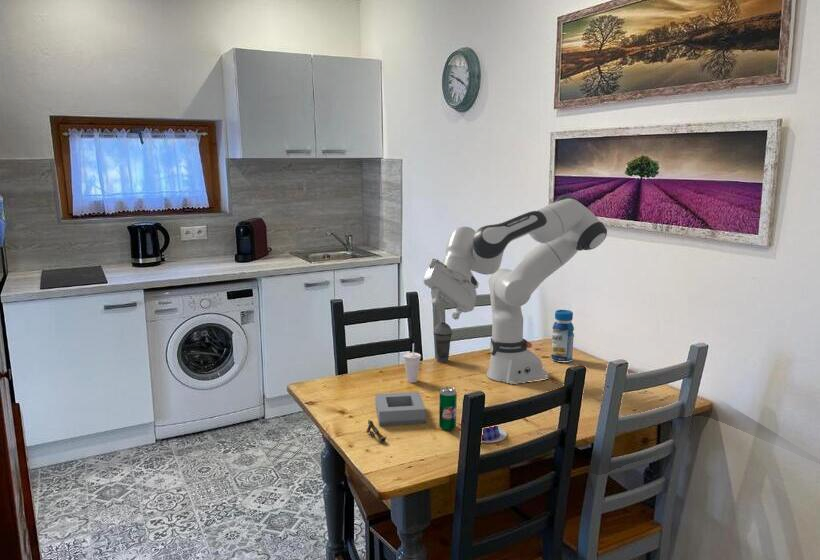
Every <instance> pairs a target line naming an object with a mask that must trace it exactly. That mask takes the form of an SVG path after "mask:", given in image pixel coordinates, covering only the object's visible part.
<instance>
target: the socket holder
mask: <svg viewBox="0 0 820 560" xmlns="http://www.w3.org/2000/svg"><path fill="white" fill-rule="evenodd" d="M374 400H375V411H376V414H377V415H376V417H377V420H378V421H377V422H378V425H379V426H380V427H382V426H400V425H402V426H403V425H417V424H426V421H427V420H426V419H427V417H426V415H427V413H426V412H427V409H426V406H425V403H424V402H423V399H422V396H421V395H420V391H410V392H409V391H408V392H407V391H406V392H391V393H390V392H389V393H375V399H374Z"/></svg>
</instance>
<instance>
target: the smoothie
mask: <svg viewBox="0 0 820 560" xmlns="http://www.w3.org/2000/svg"><path fill="white" fill-rule="evenodd" d="M402 357H403V361H404V367H405V375H406V381H407V382H408V383H413V384H414V383H417V382H418V379H419V378H418V377H419V371H420V364H421V363H420V362H421V361H420V360H421V359H422V355H421V354H420V353H418V352H415V343H412V352H406V353H404V354H403V355H402Z"/></svg>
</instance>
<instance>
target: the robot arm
mask: <svg viewBox="0 0 820 560" xmlns="http://www.w3.org/2000/svg"><path fill="white" fill-rule="evenodd" d="M607 233H608V230H607V227H606V225H605V224H604V223H603V221H601V220H600V219H599V218H598V217H597V216H596V215H595V213H593V212H592V211H591V210H590V209H588V207H586V206H585V205H584V204H582V203H581V202H579V201H578V199H577V198H575V197H574V196H572V195H569V194H566V195H561V196H559V197H557V199H555V200H554V201H553V202H552V203H550V204H547V205H546V206H544V207H542V208H541V209H537V210H533V211H528V212H526V213H523V214H520V215H518V216H515V217H513V218H511V219H508V220H505V221H503V222H500V223H496V224H488V225H484V226H482V227H480V228H478V229H477V230H476V231H475V230H474V228H472V227H469V226H460V227H457V228H456V229H454V230H453V231H452V232H451V234H450V236H449V238H448V241H447V244H446V247H445V256H444V258H443V260H442V262H441V260H439V259H438V258H432V259H431V260H430V261H429V264H428V265H429V267H428V268H427V269H426V272H425V273H424V274H425V275H424V277H423V284H424V285H425V286H426V287H428V288H429V289H430V294H431V302H430V303H431V304H432V305H434V306H438V305H439V304H440V301H441V300H440V298H439V296H440V297H442V298H443V299H445V300H446V301H447V302H449V303H450V304H451V305H452V306H454V307H455V312H452V313H451V318H452V319H453V320H455V321H456V320H459V319H460V316H461V314H462V313H469V312H472V311H474V309H475V306H476V302H477V301H476V300H477V294H478V293H477V290H476V289H478V288H479V281H478V280H477V278H476V277H475V276H474V274H473V272H475V273H477V274H480V275H487V276H488V275H489V278H488V286H489V296H490V308H491V314H492V315H491V316H492V317H491V318H492V319H491V321H492V323H491V324H492V326H491V327H492V330H491V338H490V346H489V347H490V348H489V349H490V350H489V352H490V359H489V365H488V368H487V372H486V377H487V378H489V379H491V380H494V381H496V382H499V383H500V382H501V381H502V382H501V383H505V382H506V384H508V383H510V384H509V385H512V384H515V383H523V382H528V381H534V380H540V379H546V378H548V377H549V378H550V374H549V373H548V372H547V370H546V369H544V368H543V363H542V360H541V359H540V357H538V356H537V354H535V353H534V352H533V351H531V350H530V349H531V348H532V347H533V344H532V342H530V341H528V340H527V339H525V338H524V336H523V335H524V317H523V312H522V306H524V305H526V304H527V303H528V301H530V299H531V296H532V294H533V293H534V292H535V291H536V289H538V288H539V286H540V285H541V284H542V283H543V282H544V281H545V280H546V279H547V278H548V277H550V276H551V275H552V274H554V273H556V271H558V270H559V269H560V268H562V267H563V266H565V264H566V263H568V262H569V261H570V260H571V259H573V257H574V256H575V255H576V254H577V253H578V252H579V251H590V250H594V249H596V248H597V247H599V246H601V244H602V243H603V242H604V241H605V239H606V238H607V235H608V234H607ZM526 235H529V236H530V238H532V239H533V240H534V241H536V242H538V243H539V244H538V245H536V246H535V247H534V248H533V249H531V250H530V251H529V252H527V253H526V254H525V255H524V256H523V259H522V260H521V261H520V263H518V265H516V266H515V268H514V269H512V270H511V269H510V268H500V267H501V265H502V262H503V256H504V252H505V249H506V248H507V246H509V244H510V243H511V242H512V241H514V240H517V239H520V238H522V237H524V236H526ZM472 271H473V272H472ZM545 375H547V376H545ZM523 384H524V383H523Z"/></svg>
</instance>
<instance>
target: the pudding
mask: <svg viewBox="0 0 820 560" xmlns="http://www.w3.org/2000/svg"><path fill="white" fill-rule="evenodd" d="M507 433H508V432H507V431H506V430H505V429H503V428H502V427H500V426H499V425H498V426H494V427H489V428H484V429H483V435H482V440H481V441H482V442H481V443H486V444H487V443H497V442H498V443H499V442H500V441H503V440H505V439H506V438H507V436H508V435H507Z"/></svg>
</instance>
